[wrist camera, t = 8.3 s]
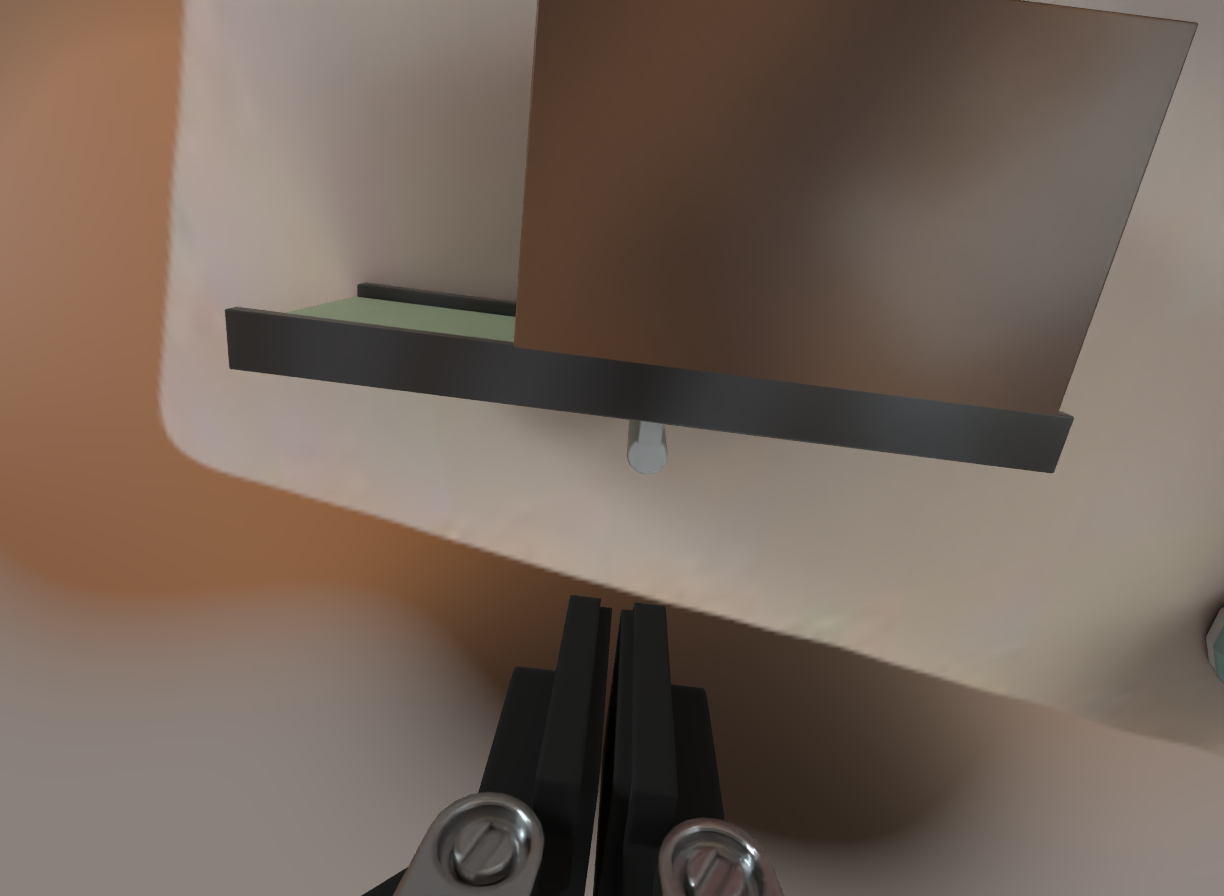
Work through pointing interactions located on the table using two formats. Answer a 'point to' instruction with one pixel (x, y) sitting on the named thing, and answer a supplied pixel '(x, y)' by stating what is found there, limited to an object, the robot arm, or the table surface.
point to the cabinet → (798, 223)
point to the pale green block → (642, 437)
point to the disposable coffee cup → (1217, 645)
